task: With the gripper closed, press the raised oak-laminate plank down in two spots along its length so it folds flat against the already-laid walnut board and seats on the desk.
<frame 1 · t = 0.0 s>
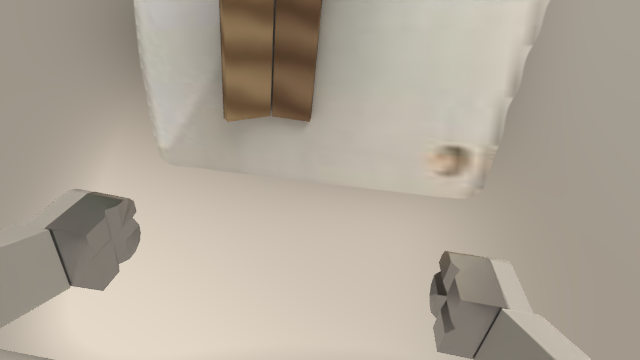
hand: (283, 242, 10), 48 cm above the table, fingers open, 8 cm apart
laid board: (296, 51, 54), on the table
plank: (247, 50, 52), point 3 cm above the table, hinge at 40.0°
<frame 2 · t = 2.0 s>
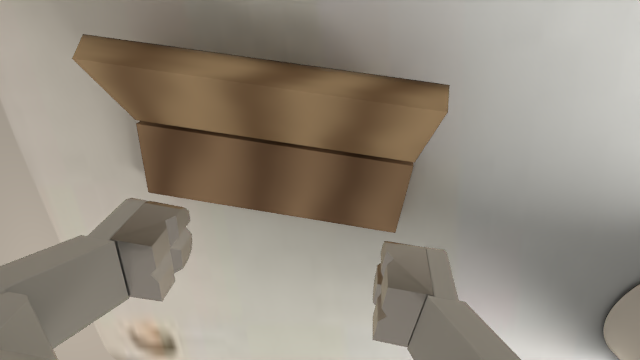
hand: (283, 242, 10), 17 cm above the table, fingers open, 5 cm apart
laid board: (275, 169, 29), on the table
plank: (267, 105, 23), point 3 cm above the table, hinge at 40.0°
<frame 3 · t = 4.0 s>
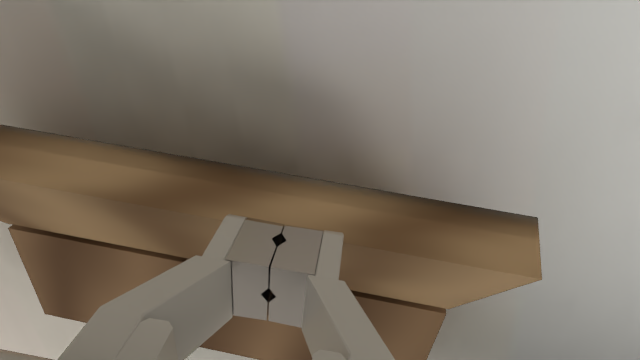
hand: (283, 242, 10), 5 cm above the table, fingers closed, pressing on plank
laid board: (231, 288, 19), on the table
plank: (198, 221, 13), point 3 cm above the table, hinge at 33.9°, touching gripper
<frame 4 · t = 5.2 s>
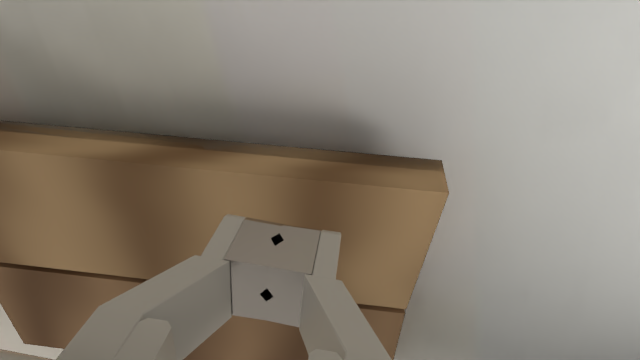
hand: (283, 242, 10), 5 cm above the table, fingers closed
laid board: (203, 304, 20), on the table
plank: (170, 217, 15), point 1 cm above the table, hinge at 10.9°
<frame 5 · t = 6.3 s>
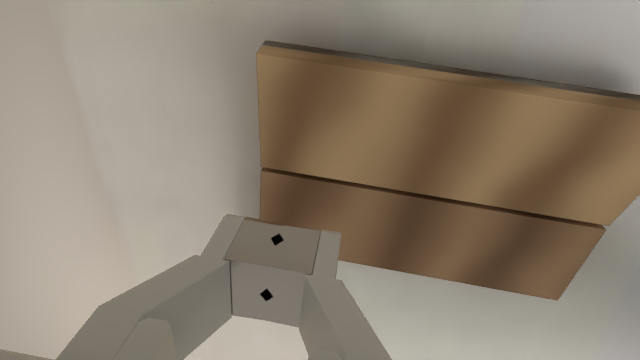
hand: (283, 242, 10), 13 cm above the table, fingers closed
laid board: (413, 222, 24), on the table
plank: (447, 138, 19), point 1 cm above the table, hinge at 10.9°
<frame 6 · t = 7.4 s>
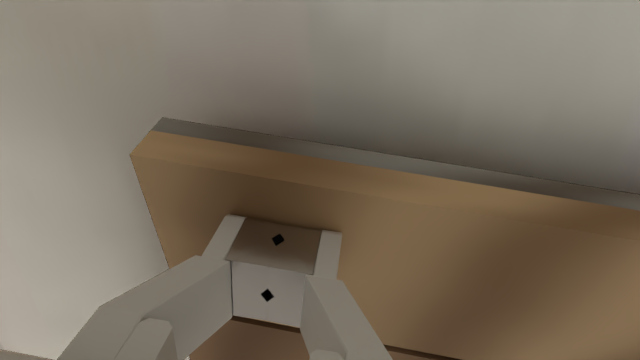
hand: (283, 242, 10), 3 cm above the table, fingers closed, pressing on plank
plank: (499, 284, 11), point 1 cm above the table, hinge at 10.8°, touching gripper
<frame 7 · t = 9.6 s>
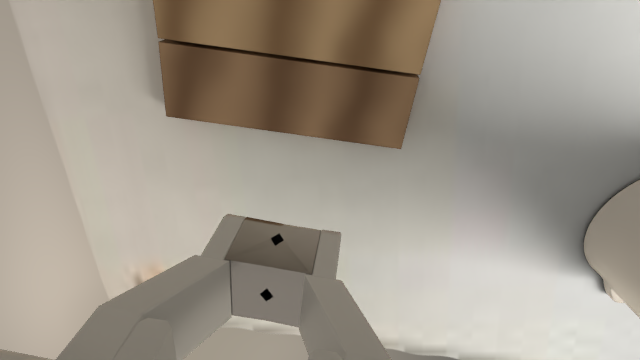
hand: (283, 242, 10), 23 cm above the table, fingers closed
laid board: (288, 92, 31), on the table
plank: (294, 4, 26), point 1 cm above the table, hinge at 3.5°
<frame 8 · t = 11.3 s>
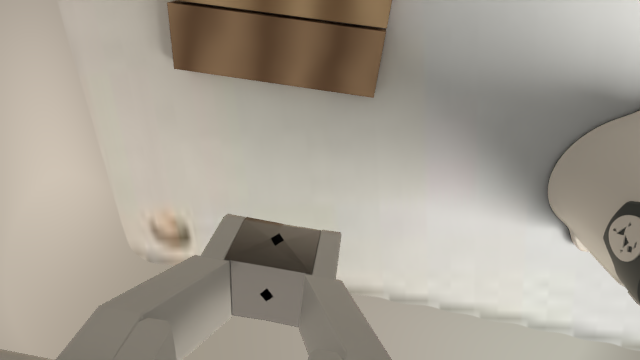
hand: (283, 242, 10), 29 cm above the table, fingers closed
laid board: (277, 47, 36), on the table
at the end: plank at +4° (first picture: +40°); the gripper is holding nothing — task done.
